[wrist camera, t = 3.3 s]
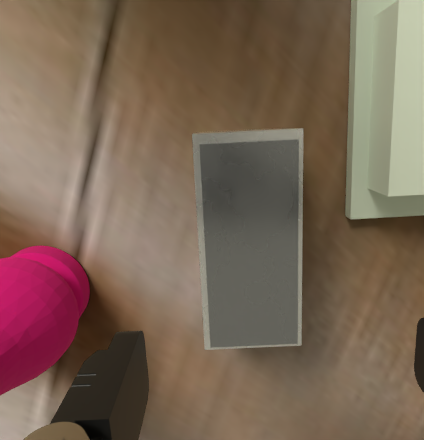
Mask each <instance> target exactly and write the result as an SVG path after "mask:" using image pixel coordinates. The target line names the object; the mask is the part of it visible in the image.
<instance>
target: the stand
mask: <svg viewBox="0 0 424 440" xmlns="http://www.w3.org/2000/svg"><path fill="white" fill-rule="evenodd" d="M421 215H424V0H351V27H350V63H349V100H348V136H347V173H346V209H345V216H346V217H348V218H349V219H366V218H385V217H403V216H421Z"/></svg>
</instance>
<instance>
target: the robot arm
mask: <svg viewBox="0 0 424 440" xmlns="http://www.w3.org/2000/svg"><path fill="white" fill-rule="evenodd" d="M414 371H415V376H416V380H417V382H418V385H419V387H420V388H421V390H422V391H423V392H424V318H421V319H420V320H419V322H418V325H417V335H416V349H415V362H414ZM148 391H149V379H148V369H147V359H146V350H145V340H144V334H143V332H142V331H128V332H116V334H115V335H114V338H113V340H112V342H111V344H110V346H109V348H108V350H97V351H96V352H95V353H94V354H93V355H91V356H90V357H89V358H88V359H87V360H86V361H84V363H83V365H82V367H81V369H80V370H79V372H78V374H77V377H76V378H75V379H74V381H73V383H72V387H70V388H69V390H68V392H67V394H66V396H65V398H64V399H63V401H62V403H61V405H60V407H59V408H58V410H57V412H56V414H55V416H54V417H53V419H52V421H51V423H50V424H49V425H46V426H44V427H41V428H39V429H37V430H36V431H34V432H32V433H31V434H29V435H28V436H27V437H26V438H25V439H24V440H138V438H139V434H140V430H141V426H142V421H143V417H144V413H145V409H146V405H147V400H148Z"/></svg>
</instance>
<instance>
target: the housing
mask: <svg viewBox="0 0 424 440" xmlns="http://www.w3.org/2000/svg"><path fill="white" fill-rule="evenodd" d="M192 141H193V158H194V175H195V192H196V209H197V226H198V243H199V260H200V277H201V294H202V311H203V329H204V346H205V350H212V349H235V348H257V347H280V346H301V345H302V231H303V128H272V129H252V130H231V131H211V132H196V133H193V134H192Z"/></svg>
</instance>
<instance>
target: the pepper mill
mask: <svg viewBox="0 0 424 440" xmlns="http://www.w3.org/2000/svg"><path fill="white" fill-rule="evenodd" d="M89 295H90V287H89V281H88V278H87V275H86V273H85V271H84V270H83V268H82V267H81V265H80V264H79V263H78V262H77V261H76V260H75V259H74V258H73V257H72V256H70V255H69V254H67V253H66V252H64V251H62V250H60V249H57V248H54V247H49V246H33V247H28V248H25V249H23V250H20V251H19V252H17V253H16V254H14V255H13V256H11V257H9V258H2V259H0V395H2V394H4V393H6V392H8V391H9V390H11V389H13V388H15V387H17V386H19V385H22V384H24V383H26V382H28V381H30V380H32V379H34V378H36V377H37V376H39V375H40V374H41V373H43V372H44V371H46V370H47V369H48V368H50V367H51V366H52V365H54V364H55V363H56V362H57V361H58V360H59V359H60V357H61V356H62V355H63V354H64V352H65V351H66V350H67V349H68V348H69V346H70V345H71V343H72V341H73V340H74V337H75V334H76V331H77V327H78V321H79V318H80V316H81V315H82V313H83V312H84V310H85V308H86V307H87V304H88V301H89Z"/></svg>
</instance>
